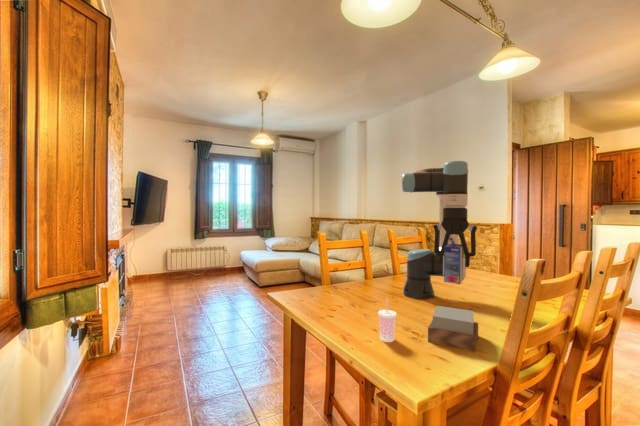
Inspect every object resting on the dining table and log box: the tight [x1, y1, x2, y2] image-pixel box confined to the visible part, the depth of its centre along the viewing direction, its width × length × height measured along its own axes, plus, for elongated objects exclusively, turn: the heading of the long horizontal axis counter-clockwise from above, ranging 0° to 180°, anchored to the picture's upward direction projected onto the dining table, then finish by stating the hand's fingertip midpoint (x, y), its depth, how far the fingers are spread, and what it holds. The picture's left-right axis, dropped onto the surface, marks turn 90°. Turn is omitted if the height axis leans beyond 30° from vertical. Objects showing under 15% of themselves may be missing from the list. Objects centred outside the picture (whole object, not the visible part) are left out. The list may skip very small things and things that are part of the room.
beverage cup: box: [377, 297, 397, 343], centre depth 100 cm, size 6×6×14 cm
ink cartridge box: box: [443, 238, 465, 285], centre depth 101 cm, size 10×6×14 cm, turn 147°
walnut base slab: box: [427, 319, 479, 353], centre depth 101 cm, size 14×14×5 cm
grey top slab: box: [432, 305, 475, 335], centre depth 101 cm, size 12×12×4 cm
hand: (454, 275), depth 101 cm, fingers closed on ink cartridge box, 5 cm apart
